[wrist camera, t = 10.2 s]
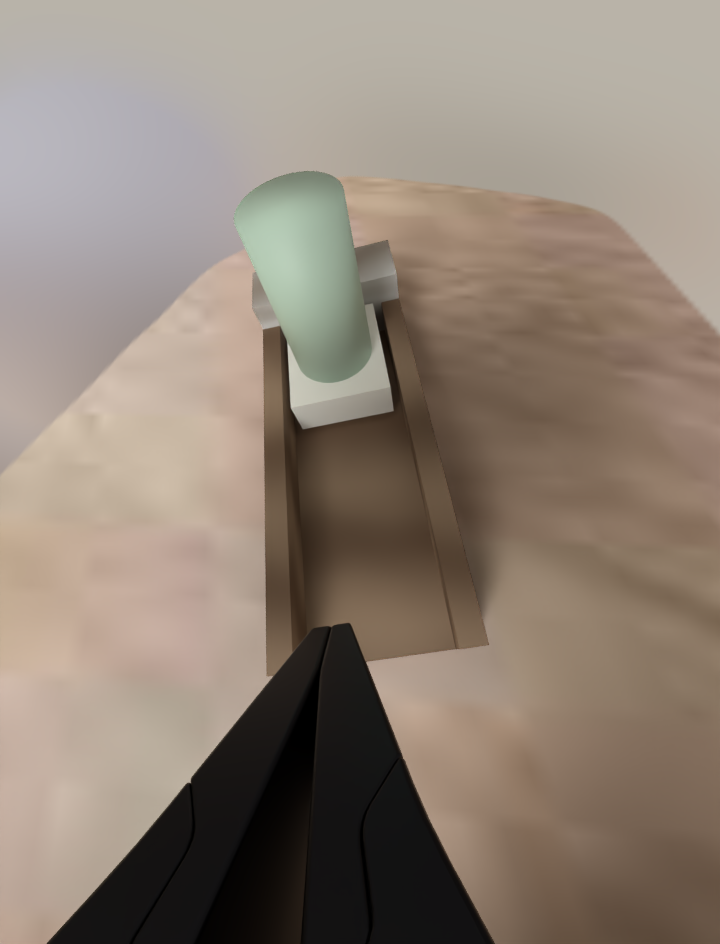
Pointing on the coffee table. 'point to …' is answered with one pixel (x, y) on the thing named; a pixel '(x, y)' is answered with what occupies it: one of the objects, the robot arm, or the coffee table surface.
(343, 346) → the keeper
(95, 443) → the coffee table surface
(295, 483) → the brown wooden open box
